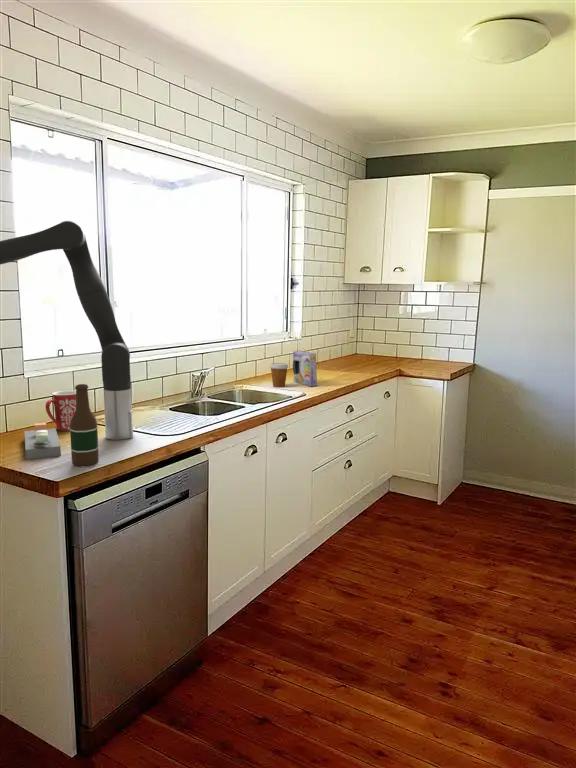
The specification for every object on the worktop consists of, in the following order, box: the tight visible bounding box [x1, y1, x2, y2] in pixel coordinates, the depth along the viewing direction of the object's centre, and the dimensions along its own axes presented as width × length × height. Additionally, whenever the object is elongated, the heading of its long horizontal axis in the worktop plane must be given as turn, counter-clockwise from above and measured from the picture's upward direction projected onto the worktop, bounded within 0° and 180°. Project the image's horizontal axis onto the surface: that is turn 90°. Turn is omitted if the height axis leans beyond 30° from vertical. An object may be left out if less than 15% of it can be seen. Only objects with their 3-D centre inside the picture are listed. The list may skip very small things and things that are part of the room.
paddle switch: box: [34, 422, 48, 435], centre depth 197 cm, size 4×3×3 cm
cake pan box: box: [292, 350, 318, 387], centre depth 318 cm, size 19×5×18 cm, turn 28°
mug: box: [45, 390, 76, 431], centre depth 217 cm, size 13×9×14 cm
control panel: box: [24, 428, 62, 460], centre depth 194 cm, size 10×26×3 cm, turn 24°
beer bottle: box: [69, 383, 100, 468], centre depth 175 cm, size 8×8×24 cm
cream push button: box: [35, 430, 48, 434], centre depth 188 cm, size 4×4×2 cm
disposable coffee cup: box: [269, 362, 289, 388], centre depth 311 cm, size 10×10×12 cm
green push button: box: [36, 433, 49, 442], centre depth 184 cm, size 4×4×2 cm
